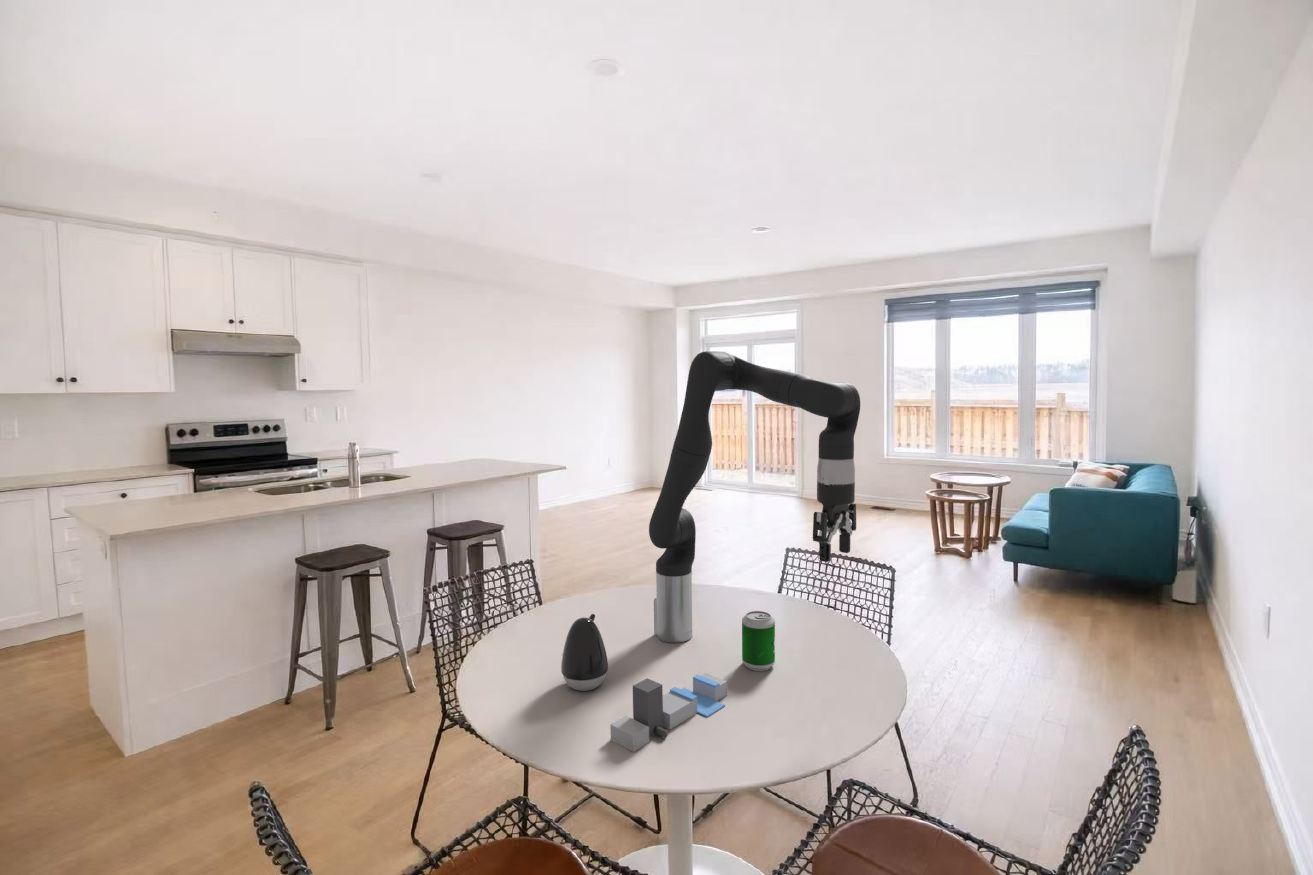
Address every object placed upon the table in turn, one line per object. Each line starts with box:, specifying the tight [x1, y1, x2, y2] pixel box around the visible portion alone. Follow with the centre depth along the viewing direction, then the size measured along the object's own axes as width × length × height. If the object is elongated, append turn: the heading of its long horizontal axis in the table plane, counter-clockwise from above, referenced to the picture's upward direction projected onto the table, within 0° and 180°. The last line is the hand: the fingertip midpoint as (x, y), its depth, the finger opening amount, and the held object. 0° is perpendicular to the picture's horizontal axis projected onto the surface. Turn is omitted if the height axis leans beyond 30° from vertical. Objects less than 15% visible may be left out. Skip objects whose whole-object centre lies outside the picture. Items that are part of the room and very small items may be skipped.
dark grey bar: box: [632, 678, 669, 739], centre depth 123 cm, size 6×4×9 cm, turn 47°
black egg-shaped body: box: [560, 613, 609, 692], centre depth 142 cm, size 10×10×15 cm
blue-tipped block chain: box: [610, 672, 728, 752], centre depth 129 cm, size 11×28×4 cm, turn 137°
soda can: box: [741, 610, 776, 672], centre depth 150 cm, size 8×8×12 cm
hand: (834, 556), depth 135 cm, fingers open, 8 cm apart
